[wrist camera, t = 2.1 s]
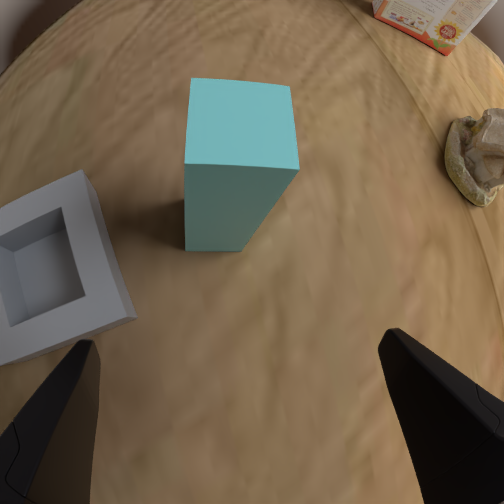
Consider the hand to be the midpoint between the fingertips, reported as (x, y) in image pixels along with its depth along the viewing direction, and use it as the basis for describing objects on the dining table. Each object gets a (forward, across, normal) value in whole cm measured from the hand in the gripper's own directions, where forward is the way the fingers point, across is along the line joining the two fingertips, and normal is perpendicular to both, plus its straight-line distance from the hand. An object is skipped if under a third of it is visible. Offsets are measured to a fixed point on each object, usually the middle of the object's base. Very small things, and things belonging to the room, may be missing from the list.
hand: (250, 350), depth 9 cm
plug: (+15, 0, +4) cm, 16 cm away
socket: (+12, +12, +7) cm, 18 cm away
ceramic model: (+22, -32, -3) cm, 39 cm away
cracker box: (+40, -30, -20) cm, 53 cm away
